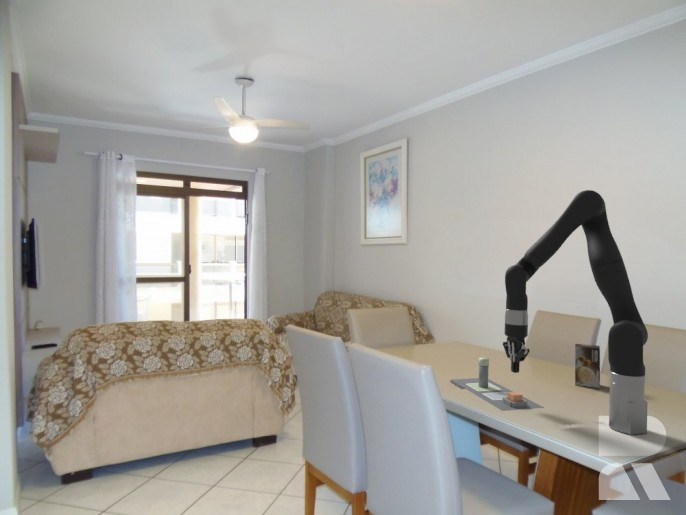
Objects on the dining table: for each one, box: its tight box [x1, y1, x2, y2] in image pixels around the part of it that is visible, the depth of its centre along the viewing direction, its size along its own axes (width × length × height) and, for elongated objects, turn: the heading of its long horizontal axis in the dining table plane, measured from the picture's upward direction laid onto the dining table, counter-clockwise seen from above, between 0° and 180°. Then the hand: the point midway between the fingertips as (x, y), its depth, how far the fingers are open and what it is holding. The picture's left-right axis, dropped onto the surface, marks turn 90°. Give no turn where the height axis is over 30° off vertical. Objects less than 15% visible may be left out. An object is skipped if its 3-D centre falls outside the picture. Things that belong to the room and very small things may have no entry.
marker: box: [478, 357, 490, 388], centre depth 184 cm, size 4×4×11 cm
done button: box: [507, 391, 524, 402], centre depth 164 cm, size 4×4×2 cm
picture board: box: [450, 377, 545, 412], centre depth 177 cm, size 38×16×3 cm, turn 13°
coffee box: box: [574, 343, 601, 389], centre depth 192 cm, size 9×6×16 cm
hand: (514, 372), depth 164 cm, fingers closed
